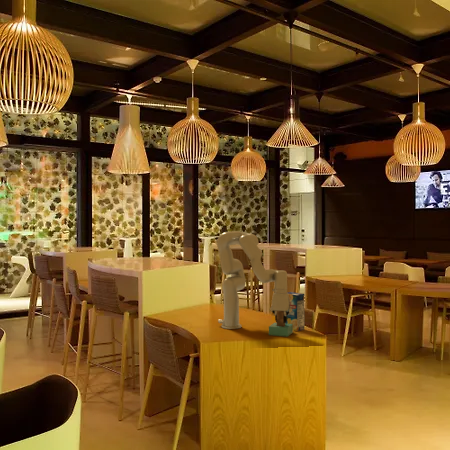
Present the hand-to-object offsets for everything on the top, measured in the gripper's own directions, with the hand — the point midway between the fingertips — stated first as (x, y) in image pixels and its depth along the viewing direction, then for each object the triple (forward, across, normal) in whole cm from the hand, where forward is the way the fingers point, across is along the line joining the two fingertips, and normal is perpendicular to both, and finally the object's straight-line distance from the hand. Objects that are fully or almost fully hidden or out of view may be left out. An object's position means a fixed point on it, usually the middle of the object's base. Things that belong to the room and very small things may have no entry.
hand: (281, 321), depth 308 cm
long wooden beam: (+5, 0, 0) cm, 5 cm away
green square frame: (+7, 0, 0) cm, 7 cm away
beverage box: (+7, +4, +15) cm, 17 cm away
